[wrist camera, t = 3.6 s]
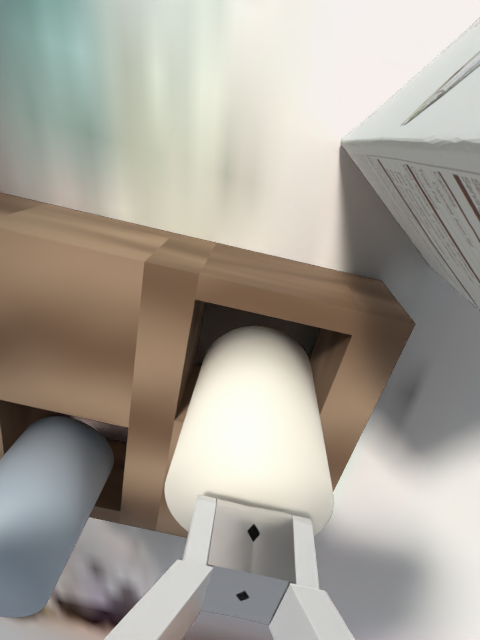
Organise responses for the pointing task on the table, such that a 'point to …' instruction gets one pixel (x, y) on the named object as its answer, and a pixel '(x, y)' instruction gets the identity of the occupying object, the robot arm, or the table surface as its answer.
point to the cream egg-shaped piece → (253, 431)
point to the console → (165, 338)
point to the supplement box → (432, 161)
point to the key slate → (46, 506)
